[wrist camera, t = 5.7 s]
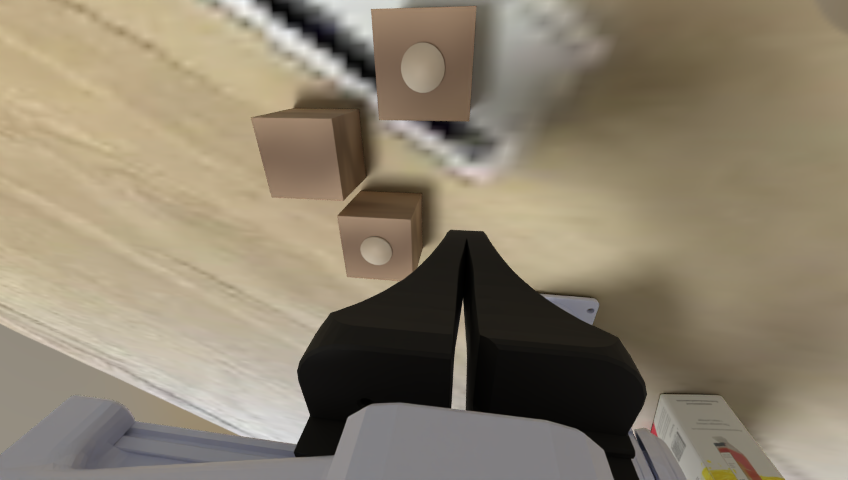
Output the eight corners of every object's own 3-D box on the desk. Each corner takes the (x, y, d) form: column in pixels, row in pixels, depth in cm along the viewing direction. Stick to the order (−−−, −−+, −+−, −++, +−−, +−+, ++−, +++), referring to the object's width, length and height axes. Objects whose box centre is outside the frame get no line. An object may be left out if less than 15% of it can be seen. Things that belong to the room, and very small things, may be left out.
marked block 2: (422, 247, 24) (412, 283, 20) (365, 243, 25) (344, 278, 21) (422, 193, 22) (410, 220, 18) (358, 190, 22) (333, 216, 18)
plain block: (366, 177, 22) (343, 200, 18) (306, 174, 22) (271, 197, 19) (359, 108, 20) (331, 118, 16) (293, 108, 20) (250, 117, 16)
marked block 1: (469, 109, 19) (469, 121, 15) (395, 109, 19) (375, 120, 15) (475, 20, 17) (476, 5, 13) (391, 22, 17) (366, 8, 13)
